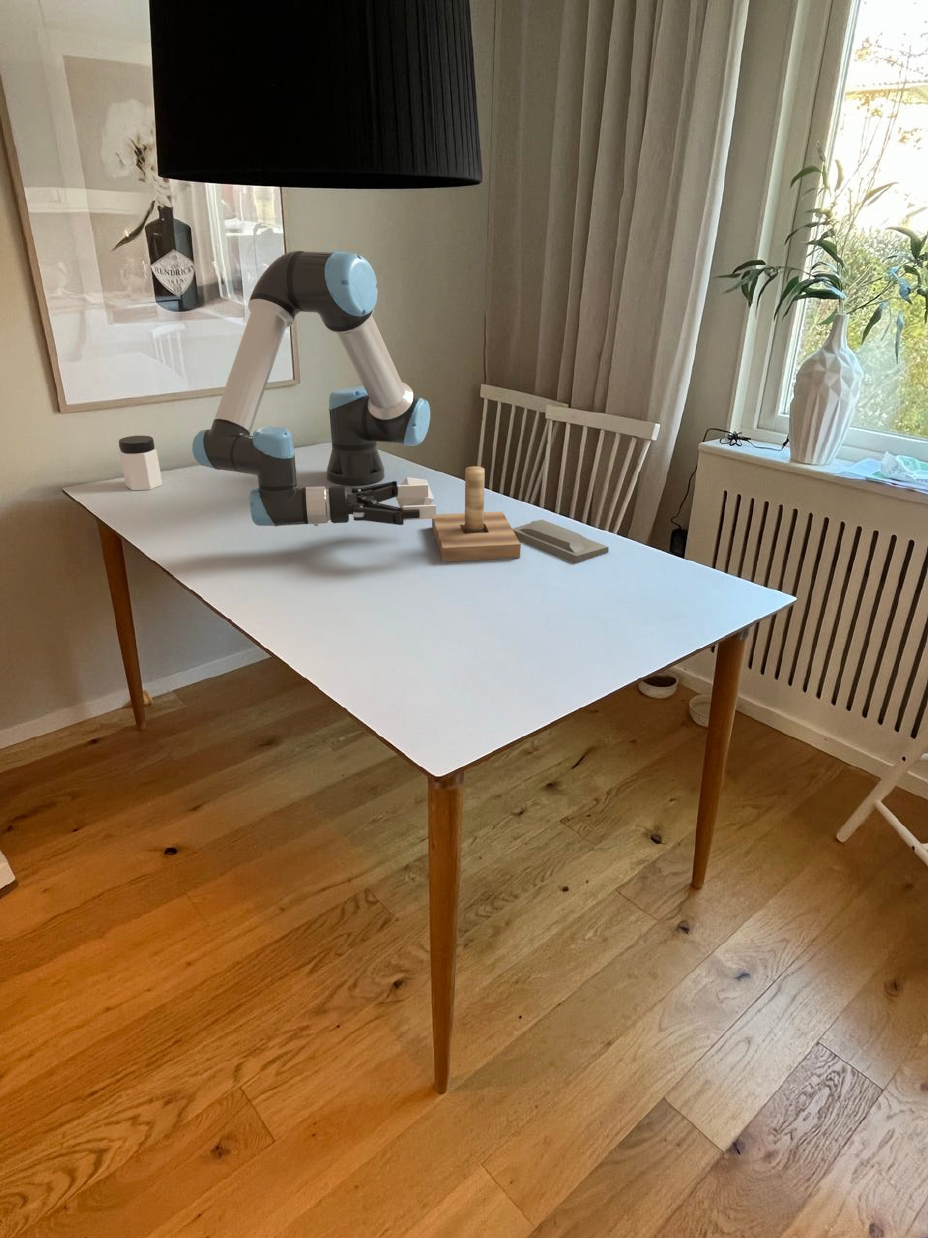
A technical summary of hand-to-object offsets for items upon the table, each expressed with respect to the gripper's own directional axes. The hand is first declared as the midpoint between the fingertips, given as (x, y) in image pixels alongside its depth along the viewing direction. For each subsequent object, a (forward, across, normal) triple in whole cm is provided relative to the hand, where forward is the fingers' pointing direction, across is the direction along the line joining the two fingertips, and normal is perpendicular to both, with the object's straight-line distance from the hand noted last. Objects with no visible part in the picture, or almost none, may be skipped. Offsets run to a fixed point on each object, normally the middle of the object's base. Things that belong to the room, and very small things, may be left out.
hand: (432, 500), depth 166 cm
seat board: (+9, 0, -10) cm, 13 cm away
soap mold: (+26, +4, -10) cm, 29 cm away
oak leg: (+9, 0, -10) cm, 13 cm away
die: (-2, -21, -10) cm, 23 cm away
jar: (-69, -50, -10) cm, 85 cm away
